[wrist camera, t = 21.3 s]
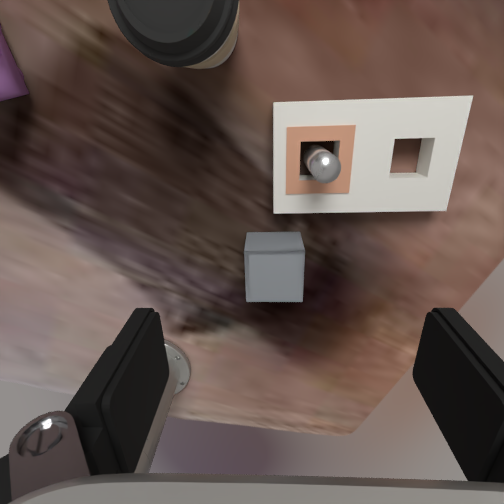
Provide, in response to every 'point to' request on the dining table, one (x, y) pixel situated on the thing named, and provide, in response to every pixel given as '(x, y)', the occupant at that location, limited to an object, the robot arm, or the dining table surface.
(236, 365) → the dining table surface
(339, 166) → the pin
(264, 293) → the cover
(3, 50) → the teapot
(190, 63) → the coffee cup
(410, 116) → the board
